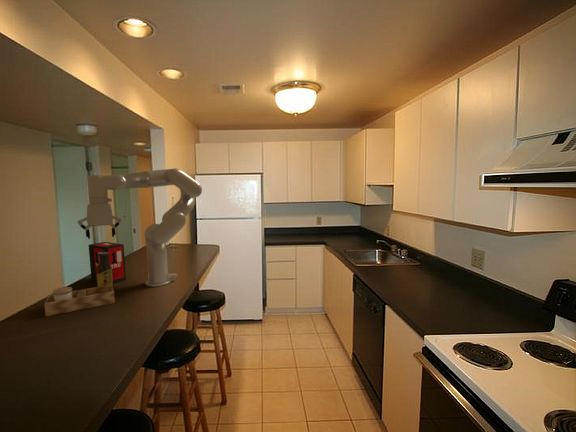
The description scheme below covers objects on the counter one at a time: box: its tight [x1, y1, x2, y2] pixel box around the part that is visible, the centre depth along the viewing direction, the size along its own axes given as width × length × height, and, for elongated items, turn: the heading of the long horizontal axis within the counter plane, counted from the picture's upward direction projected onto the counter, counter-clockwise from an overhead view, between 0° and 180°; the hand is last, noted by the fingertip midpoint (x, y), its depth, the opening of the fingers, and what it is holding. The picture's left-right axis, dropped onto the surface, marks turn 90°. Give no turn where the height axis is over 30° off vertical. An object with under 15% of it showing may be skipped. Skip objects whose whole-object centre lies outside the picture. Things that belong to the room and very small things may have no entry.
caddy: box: [44, 284, 116, 317], centre depth 127 cm, size 24×11×6 cm, turn 123°
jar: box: [52, 286, 73, 302], centre depth 124 cm, size 6×6×8 cm
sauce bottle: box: [96, 252, 114, 287], centre depth 142 cm, size 7×6×20 cm
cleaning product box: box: [88, 241, 127, 285], centre depth 161 cm, size 16×9×20 cm, turn 63°
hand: (101, 237), depth 140 cm, fingers open, 9 cm apart
